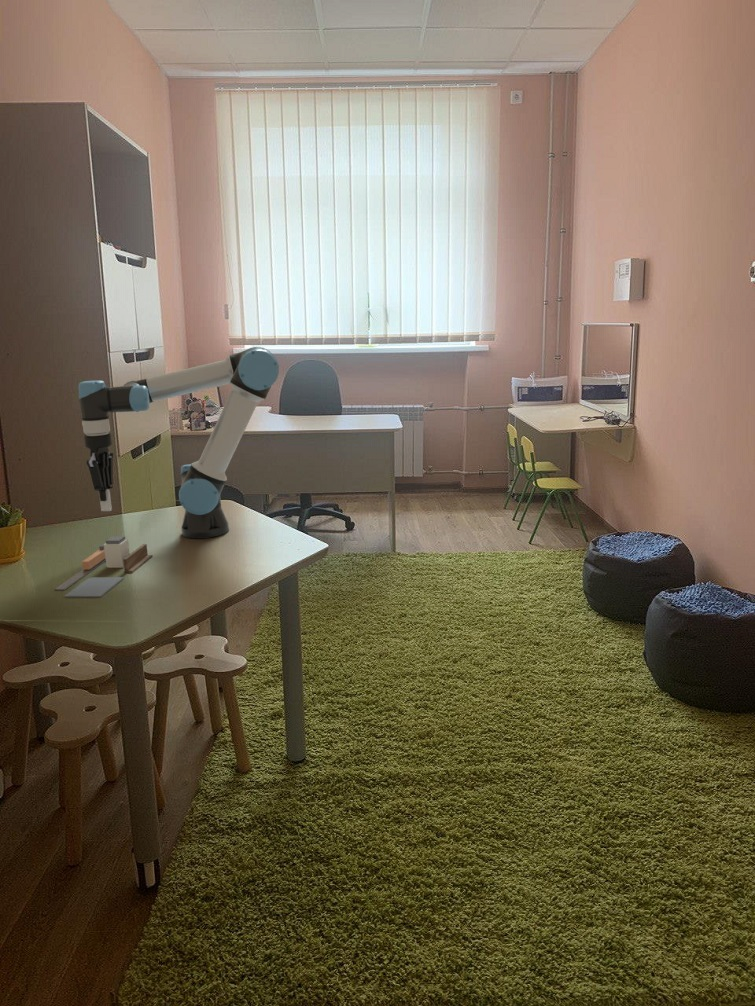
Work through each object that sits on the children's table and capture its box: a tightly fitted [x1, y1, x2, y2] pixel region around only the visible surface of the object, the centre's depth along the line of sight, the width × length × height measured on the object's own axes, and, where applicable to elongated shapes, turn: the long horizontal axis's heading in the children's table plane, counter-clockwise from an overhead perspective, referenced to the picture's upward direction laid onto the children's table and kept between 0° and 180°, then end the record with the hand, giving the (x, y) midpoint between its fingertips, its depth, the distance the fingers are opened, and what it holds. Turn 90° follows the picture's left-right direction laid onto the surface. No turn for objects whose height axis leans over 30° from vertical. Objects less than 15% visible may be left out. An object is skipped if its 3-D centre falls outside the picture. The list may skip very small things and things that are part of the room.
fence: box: [123, 543, 153, 574], centre depth 231 cm, size 2×14×4 cm, turn 173°
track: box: [54, 558, 106, 591], centre depth 227 cm, size 3×28×1 cm, turn 173°
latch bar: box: [81, 544, 106, 570], centre depth 233 cm, size 2×12×4 cm, turn 173°
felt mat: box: [64, 576, 125, 598], centre depth 214 cm, size 10×14×1 cm
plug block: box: [103, 536, 131, 569], centre depth 232 cm, size 5×5×8 cm
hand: (106, 510), depth 242 cm, fingers closed
